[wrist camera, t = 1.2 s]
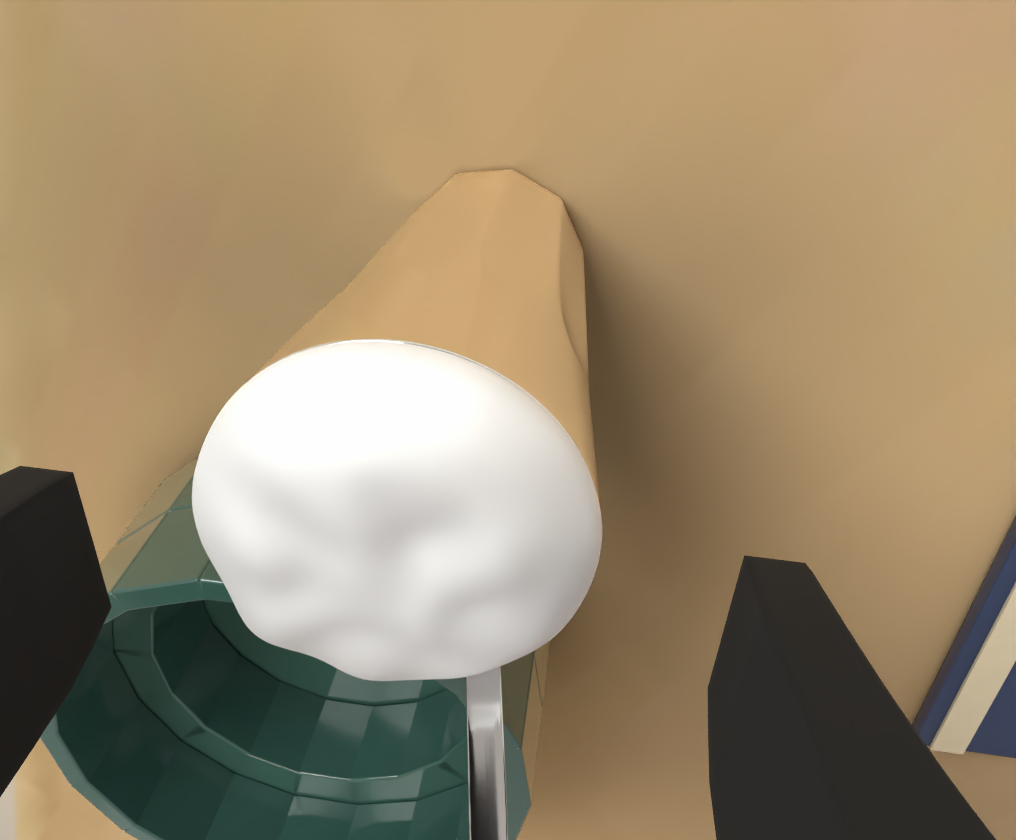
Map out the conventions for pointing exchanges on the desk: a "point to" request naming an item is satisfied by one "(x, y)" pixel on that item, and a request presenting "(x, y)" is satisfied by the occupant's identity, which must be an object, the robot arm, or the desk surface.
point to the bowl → (262, 716)
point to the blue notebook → (979, 672)
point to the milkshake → (422, 462)
